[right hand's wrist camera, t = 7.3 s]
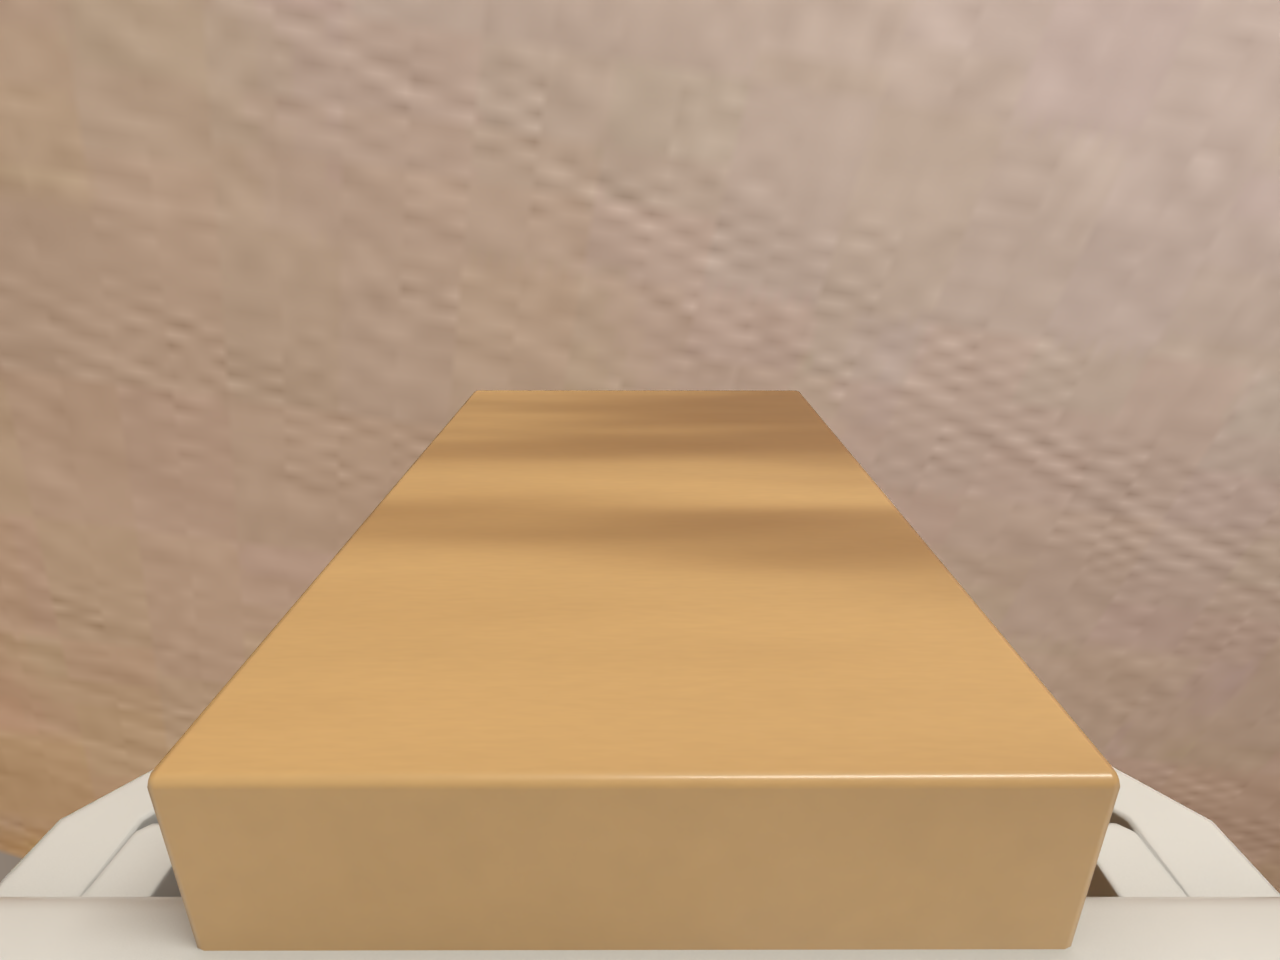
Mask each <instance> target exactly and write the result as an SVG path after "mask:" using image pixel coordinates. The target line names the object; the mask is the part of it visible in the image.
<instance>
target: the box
mask: <svg viewBox="0 0 1280 960" xmlns="http://www.w3.org/2000/svg"><path fill="white" fill-rule="evenodd" d="M147 789H148V792H149V795H150V798H151V801H152V804H153V808H154V811H155V814H156V817H157V820H158V824H159V827H160V830H161V833H162V836H163V839H164V843H165V846H166V849H167V852H168V855H169V859H170V862H171V865H172V868H173V871H174V874H175V878H176V881H177V884H178V887H179V890H180V894H181V897H182V900H183V903H184V906H185V909H186V913H187V916H188V919H189V922H190V925H191V929H192V932H193V935H194V938H195V941H196V944H197V948H199V949H201V950H203V951H346V950H919V949H1066V948H1068V947H1070V946H1071V944H1072V941H1073V938H1074V935H1075V931H1076V928H1077V925H1078V922H1079V918H1080V915H1081V912H1082V909H1083V906H1084V902H1085V899H1086V896H1087V893H1088V889H1089V886H1090V883H1091V880H1092V876H1093V873H1094V870H1095V867H1096V864H1097V860H1098V857H1099V854H1100V851H1101V847H1102V844H1103V841H1104V838H1105V834H1106V831H1107V828H1108V825H1109V822H1110V818H1111V815H1112V812H1113V809H1114V805H1115V802H1116V799H1117V796H1118V792H1119V789H1120V782H1119V778H1118V775H1117V772H1116V771H1115V770H1114V769H1113V767H1112V766H1111V765H1110V764H1109V763H1108V761H1107V760H1106V759H1105V758H1104V757H1103V755H1102V754H1101V753H1100V752H1099V751H1098V749H1097V748H1096V747H1095V746H1094V745H1093V743H1092V742H1091V741H1090V740H1089V739H1088V737H1087V736H1086V735H1085V734H1084V733H1083V731H1082V730H1081V729H1080V728H1079V727H1078V726H1077V724H1076V723H1075V722H1074V721H1073V720H1072V718H1071V717H1070V716H1069V715H1068V714H1067V712H1066V711H1065V710H1064V709H1063V708H1062V706H1061V705H1060V704H1059V703H1058V702H1057V700H1056V699H1055V698H1054V697H1053V696H1052V694H1051V693H1050V692H1049V691H1048V690H1047V688H1046V687H1045V686H1044V685H1043V684H1042V682H1041V681H1040V680H1039V679H1038V678H1037V676H1036V675H1035V674H1034V673H1033V672H1032V670H1031V669H1030V668H1029V667H1028V666H1027V664H1026V663H1025V662H1024V661H1023V660H1022V658H1021V657H1020V656H1019V655H1018V654H1017V652H1016V651H1015V650H1014V649H1013V648H1012V646H1011V645H1010V644H1009V643H1008V642H1007V640H1006V639H1005V638H1004V637H1003V636H1002V634H1001V633H1000V632H999V631H998V630H997V628H996V627H995V626H994V625H993V624H992V622H991V621H990V620H989V619H988V618H987V616H986V615H985V614H984V613H983V612H982V610H981V609H980V608H979V607H978V606H977V604H976V603H975V602H974V601H973V600H972V598H971V597H970V596H969V595H968V594H967V592H966V591H965V590H964V589H963V588H962V586H961V585H960V584H959V583H958V582H957V580H956V579H955V578H954V577H953V576H952V574H951V573H950V572H949V571H948V570H947V568H946V567H945V566H944V565H943V564H942V562H941V561H940V560H939V559H938V558H937V556H936V555H935V554H934V553H933V552H932V550H931V549H930V548H929V547H928V546H927V544H926V543H925V542H924V541H923V540H922V539H921V537H920V536H919V535H918V534H917V533H916V531H915V530H914V529H913V528H912V527H911V525H910V524H909V523H908V522H907V521H906V519H905V518H904V517H903V516H902V515H901V513H900V512H899V511H898V510H897V509H896V507H895V506H894V505H893V504H892V503H891V501H890V500H889V499H888V498H887V497H886V495H885V494H884V493H883V492H882V491H881V489H880V488H879V487H878V486H877V485H876V483H875V482H874V481H873V480H872V479H871V477H870V476H869V475H868V474H867V473H866V471H865V470H864V469H863V468H862V467H861V465H860V464H859V463H858V462H857V461H856V459H855V458H854V457H853V456H852V455H851V453H850V452H849V451H848V450H847V449H846V447H845V446H844V445H843V444H842V443H841V441H840V440H839V439H838V438H837V437H836V435H835V434H834V433H833V432H832V431H831V429H830V428H829V427H828V426H827V425H826V423H825V422H824V421H823V420H822V419H821V417H820V416H819V415H818V414H817V413H816V411H815V410H814V409H813V408H812V407H811V405H810V404H809V403H808V402H807V401H806V399H805V398H804V397H803V396H802V395H801V393H800V392H798V391H475V392H474V393H473V394H472V396H471V397H470V398H469V399H468V400H467V401H466V403H465V404H464V405H463V406H462V407H461V408H460V410H459V411H458V412H457V413H456V414H455V416H454V417H453V418H452V419H451V420H450V421H449V423H448V424H447V425H446V426H445V427H444V428H443V430H442V431H441V432H440V433H439V434H438V436H437V437H436V438H435V439H434V440H433V441H432V443H431V444H430V445H429V446H428V447H427V448H426V450H425V451H424V452H423V453H422V454H421V456H420V457H419V458H418V459H417V460H416V461H415V463H414V464H413V465H412V466H411V467H410V468H409V470H408V471H407V472H406V473H405V474H404V476H403V477H402V478H401V479H400V480H399V481H398V483H397V484H396V485H395V486H394V487H393V488H392V490H391V491H390V492H389V493H388V494H387V496H386V497H385V498H384V499H383V500H382V501H381V503H380V504H379V505H378V506H377V507H376V508H375V510H374V511H373V512H372V513H371V514H370V516H369V517H368V518H367V519H366V520H365V521H364V523H363V524H362V525H361V526H360V527H359V528H358V530H357V531H356V532H355V533H354V534H353V536H352V537H351V538H350V539H349V540H348V541H347V543H346V544H345V545H344V546H343V547H342V548H341V550H340V551H339V552H338V553H337V554H336V556H335V557H334V558H333V559H332V560H331V561H330V563H329V564H328V565H327V566H326V567H325V568H324V570H323V571H322V572H321V573H320V574H319V576H318V577H317V578H316V579H315V580H314V581H313V583H312V584H311V585H310V586H309V587H308V589H307V590H306V591H305V592H304V593H303V594H302V596H301V597H300V598H299V599H298V600H297V601H296V603H295V604H294V605H293V606H292V607H291V609H290V610H289V611H288V612H287V613H286V614H285V616H284V617H283V618H282V619H281V620H280V621H279V623H278V624H277V625H276V626H275V627H274V629H273V630H272V631H271V632H270V633H269V634H268V636H267V637H266V638H265V639H264V640H263V641H262V643H261V644H260V645H259V646H258V647H257V649H256V650H255V651H254V652H253V653H252V654H251V656H250V657H249V658H248V659H247V660H246V661H245V663H244V664H243V665H242V666H241V667H240V669H239V670H238V671H237V672H236V673H235V674H234V676H233V677H232V678H231V679H230V680H229V681H228V683H227V684H226V685H225V686H224V687H223V689H222V690H221V691H220V692H219V693H218V694H217V696H216V697H215V698H214V699H213V700H212V701H211V703H210V704H209V705H208V706H207V707H206V709H205V710H204V711H203V712H202V713H201V714H200V716H199V717H198V718H197V719H196V720H195V721H194V723H193V724H192V725H191V726H190V727H189V729H188V730H187V731H186V732H185V733H184V734H183V736H182V737H181V738H180V739H179V740H178V741H177V743H176V744H175V745H174V746H173V747H172V749H171V750H170V751H169V752H168V753H167V754H166V756H165V757H164V758H163V759H162V760H161V761H160V763H159V764H158V765H157V766H156V767H155V769H154V770H153V771H152V772H151V774H150V776H149V779H148V785H147Z"/></svg>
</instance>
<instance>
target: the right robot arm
mask: <svg viewBox="0 0 1280 960" xmlns="http://www.w3.org/2000/svg"><path fill="white" fill-rule="evenodd" d="M1113 769H1114V770H1115V771H1116V772H1117V775H1118V778H1119V782H1120V789H1119V792H1118V796H1117V799H1116V802H1115V805H1114V809H1113V812H1112V815H1111V818H1110V822H1109V825H1108V828H1107V831H1106V834H1105V838H1104V841H1103V844H1102V847H1101V851H1100V854H1099V857H1098V860H1097V864H1096V867H1095V870H1094V873H1093V876H1092V880H1091V883H1090V886H1089V889H1088V893H1087V896H1086V899H1085V902H1084V906H1083V909H1082V912H1081V915H1080V918H1079V922H1078V925H1077V928H1076V931H1075V935H1074V938H1073V941H1072V944H1071V946H1070V947H1068V948H1066V949H919V950H346V951H203V950H201V949H199V948H197V944H196V941H195V938H194V935H193V932H192V929H191V925H190V922H189V919H188V916H187V913H186V909H185V906H184V903H183V900H182V897H181V894H180V890H179V887H178V884H177V881H176V878H175V874H174V871H173V868H172V865H171V862H170V859H169V855H168V852H167V849H166V846H165V843H164V839H163V836H162V833H161V830H160V827H159V824H158V820H157V817H156V814H155V811H154V808H153V804H152V801H151V798H150V795H149V792H148V789H147V785H148V779H149V776H150V774H151V772H152V771H153V770H154V769H153V770H151V771H150V772H148V773H146V774H144V775H142V776H140V777H138V778H137V779H135V780H133V781H131V782H129V783H127V784H125V785H123V786H122V787H120V788H118V789H116V790H114V791H112V792H110V793H109V794H107V795H105V796H103V797H101V798H99V799H97V800H96V801H94V802H92V803H90V804H88V805H86V806H84V807H83V808H81V809H79V810H77V811H75V812H73V813H71V814H70V815H68V816H66V817H64V818H62V819H60V820H59V821H58V822H57V823H56V824H55V825H54V826H53V827H52V828H51V829H50V830H49V831H48V833H47V834H46V835H45V836H44V837H43V838H42V839H41V840H40V841H39V842H38V843H37V844H36V845H35V846H34V847H33V848H32V849H31V850H30V852H29V853H28V854H27V855H26V856H25V857H24V858H23V859H22V860H21V861H20V862H19V863H18V864H17V865H16V866H15V867H14V868H13V869H12V871H11V872H10V873H9V874H8V875H7V876H6V877H5V878H4V879H3V880H2V881H1V882H0V960H1280V894H1279V893H1278V892H1277V890H1276V889H1275V888H1274V887H1273V886H1272V885H1271V884H1270V883H1269V882H1268V881H1267V880H1266V879H1265V878H1264V876H1263V875H1262V874H1261V873H1260V872H1259V871H1258V870H1257V869H1256V868H1255V867H1254V866H1253V865H1252V864H1251V862H1250V861H1249V860H1248V859H1247V858H1246V857H1245V856H1244V855H1243V854H1242V853H1241V852H1240V851H1239V849H1238V848H1237V847H1236V846H1235V845H1234V844H1233V843H1232V842H1231V841H1230V840H1229V839H1228V838H1227V837H1226V835H1225V834H1224V833H1223V832H1222V831H1221V830H1220V829H1219V828H1218V827H1217V826H1216V825H1215V824H1214V823H1213V821H1211V820H1209V819H1207V818H1206V817H1204V816H1202V815H1200V814H1198V813H1196V812H1195V811H1193V810H1191V809H1189V808H1187V807H1185V806H1184V805H1182V804H1180V803H1178V802H1176V801H1174V800H1173V799H1171V798H1169V797H1167V796H1165V795H1163V794H1162V793H1160V792H1158V791H1156V790H1154V789H1152V788H1151V787H1149V786H1147V785H1145V784H1143V783H1141V782H1139V781H1138V780H1136V779H1134V778H1132V777H1130V776H1128V775H1127V774H1125V773H1123V772H1121V771H1119V770H1117V769H1116V768H1114V767H1113Z"/></svg>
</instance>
